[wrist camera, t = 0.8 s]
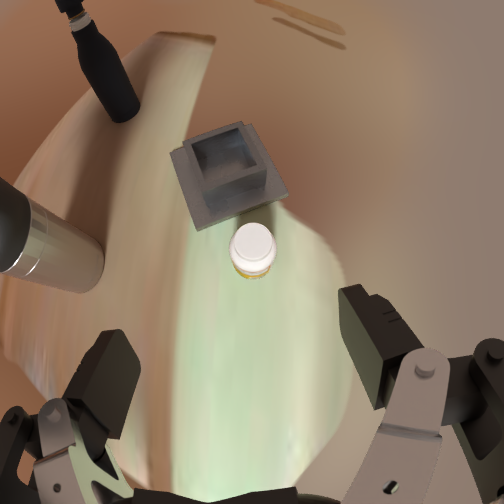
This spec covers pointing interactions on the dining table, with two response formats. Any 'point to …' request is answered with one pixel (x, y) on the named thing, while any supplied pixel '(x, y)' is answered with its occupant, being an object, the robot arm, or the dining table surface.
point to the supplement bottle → (253, 250)
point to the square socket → (226, 174)
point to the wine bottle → (101, 64)
